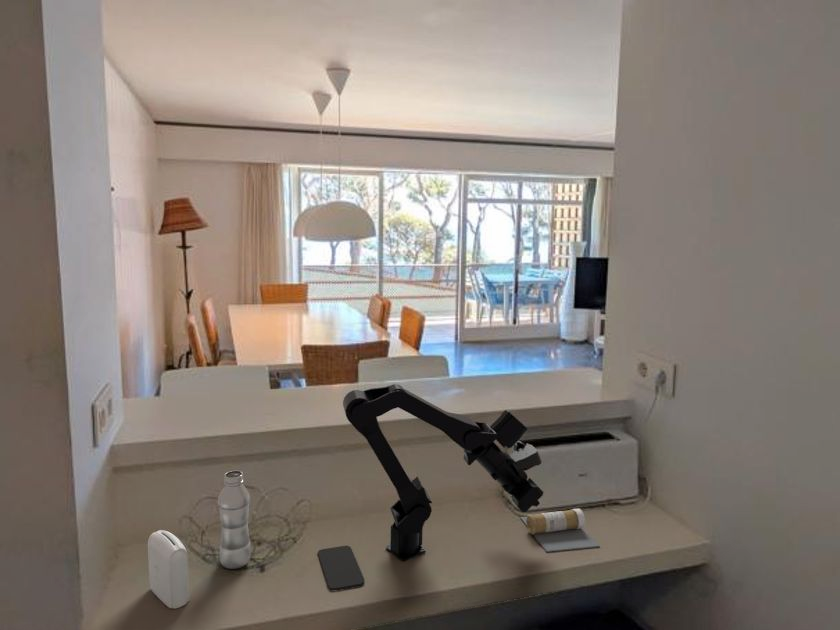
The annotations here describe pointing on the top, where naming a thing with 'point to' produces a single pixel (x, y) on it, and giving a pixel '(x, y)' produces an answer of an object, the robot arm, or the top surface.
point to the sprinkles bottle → (555, 521)
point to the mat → (564, 539)
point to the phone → (340, 568)
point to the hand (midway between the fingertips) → (537, 504)
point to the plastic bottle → (234, 522)
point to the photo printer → (168, 569)
